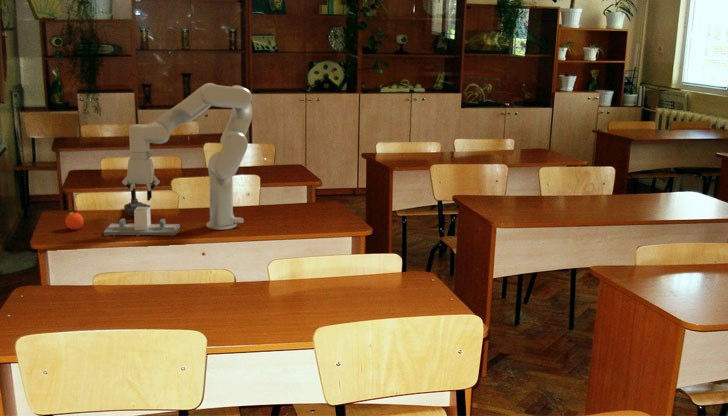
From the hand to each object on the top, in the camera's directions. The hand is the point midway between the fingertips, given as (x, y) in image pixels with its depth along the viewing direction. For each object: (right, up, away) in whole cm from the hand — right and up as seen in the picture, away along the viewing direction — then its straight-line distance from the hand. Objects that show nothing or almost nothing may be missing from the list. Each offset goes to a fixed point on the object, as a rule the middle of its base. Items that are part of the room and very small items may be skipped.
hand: (141, 199), depth 303 cm
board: (-1, -13, +3) cm, 13 cm away
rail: (0, -12, +3) cm, 12 cm away
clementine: (-29, -12, +3) cm, 31 cm away
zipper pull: (-11, -7, +30) cm, 33 cm away
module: (0, -12, +3) cm, 12 cm away
